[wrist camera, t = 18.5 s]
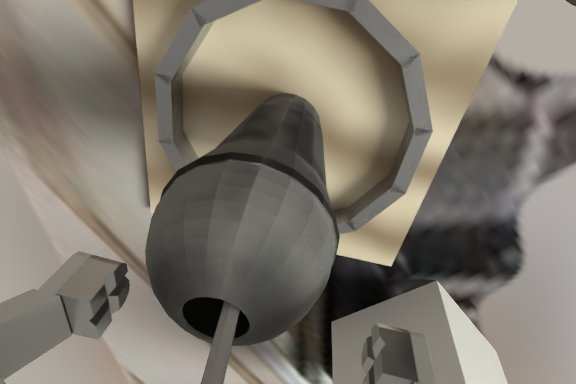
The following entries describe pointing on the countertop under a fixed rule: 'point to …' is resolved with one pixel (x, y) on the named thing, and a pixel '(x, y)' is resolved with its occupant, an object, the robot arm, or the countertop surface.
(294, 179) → the beverage cup
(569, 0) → the sundae
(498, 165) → the countertop surface
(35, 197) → the countertop surface
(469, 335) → the milk
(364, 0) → the ring seat
